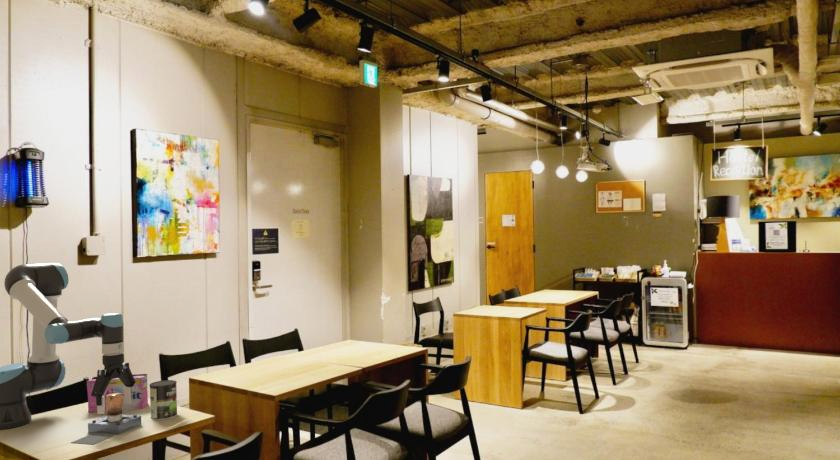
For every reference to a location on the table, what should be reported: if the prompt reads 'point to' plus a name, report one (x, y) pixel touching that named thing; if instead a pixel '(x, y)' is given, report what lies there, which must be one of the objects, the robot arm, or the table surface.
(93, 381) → the gum box
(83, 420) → the table surface
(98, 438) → the mat
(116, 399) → the copper topped jar
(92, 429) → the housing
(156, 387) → the coffee can
